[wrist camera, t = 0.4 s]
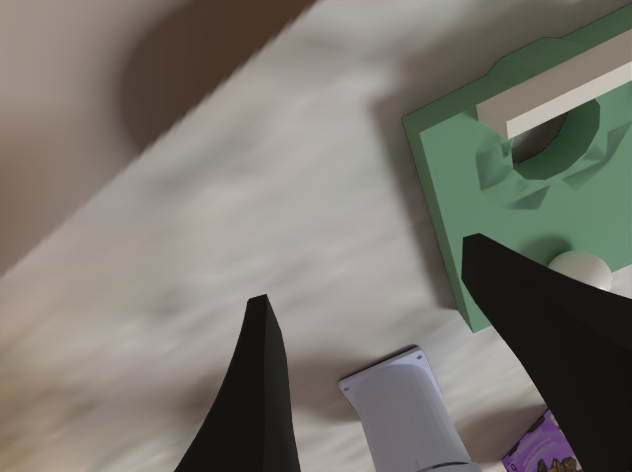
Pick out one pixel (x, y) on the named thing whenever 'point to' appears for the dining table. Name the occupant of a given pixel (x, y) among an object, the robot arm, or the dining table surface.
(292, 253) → the dining table surface
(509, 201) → the green
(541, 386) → the robot arm
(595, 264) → the ball
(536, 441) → the candy box
